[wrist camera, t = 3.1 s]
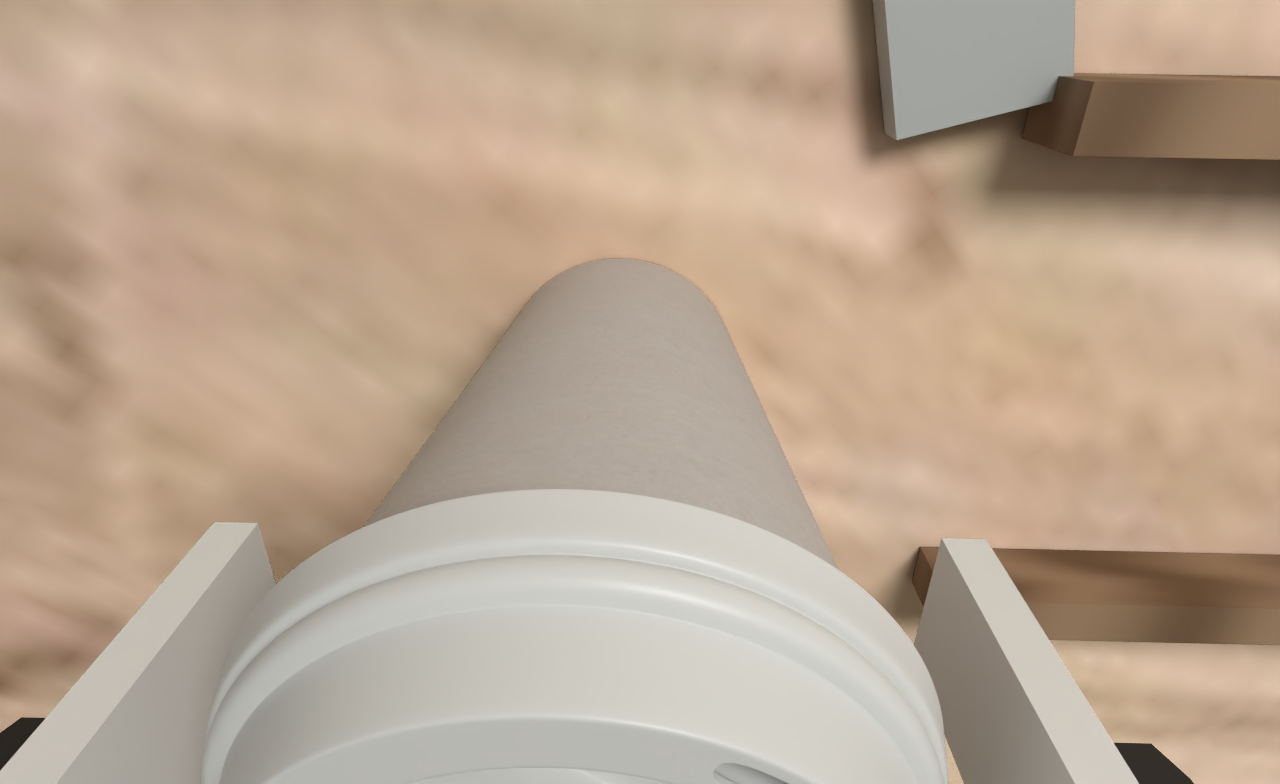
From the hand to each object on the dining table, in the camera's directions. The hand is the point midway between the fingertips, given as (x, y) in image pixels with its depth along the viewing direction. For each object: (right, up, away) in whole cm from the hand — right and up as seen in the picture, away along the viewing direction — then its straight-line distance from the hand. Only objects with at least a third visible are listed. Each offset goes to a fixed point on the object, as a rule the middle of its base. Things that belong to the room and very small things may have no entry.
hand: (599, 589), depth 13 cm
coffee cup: (0, +4, +8) cm, 9 cm away
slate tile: (+8, +12, +4) cm, 15 cm away
